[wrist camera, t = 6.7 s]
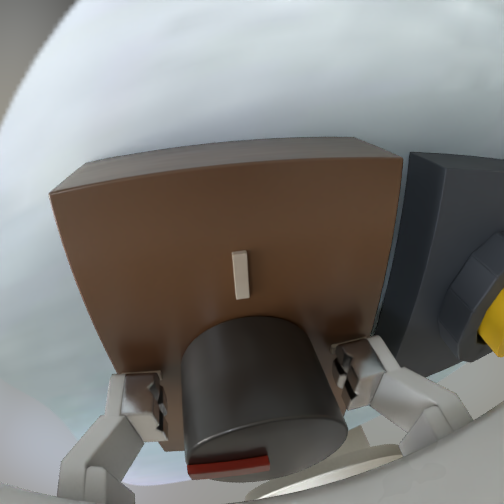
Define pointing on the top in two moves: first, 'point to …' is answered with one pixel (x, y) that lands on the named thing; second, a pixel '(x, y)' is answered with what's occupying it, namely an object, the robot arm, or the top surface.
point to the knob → (256, 402)
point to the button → (494, 325)
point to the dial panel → (229, 246)
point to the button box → (445, 261)
